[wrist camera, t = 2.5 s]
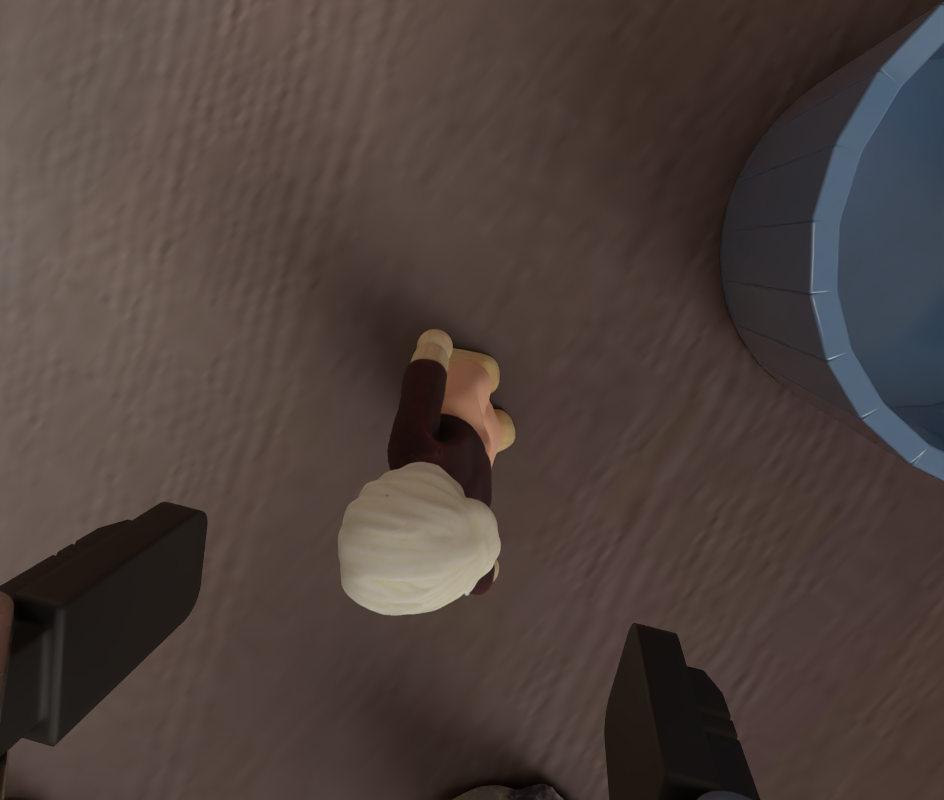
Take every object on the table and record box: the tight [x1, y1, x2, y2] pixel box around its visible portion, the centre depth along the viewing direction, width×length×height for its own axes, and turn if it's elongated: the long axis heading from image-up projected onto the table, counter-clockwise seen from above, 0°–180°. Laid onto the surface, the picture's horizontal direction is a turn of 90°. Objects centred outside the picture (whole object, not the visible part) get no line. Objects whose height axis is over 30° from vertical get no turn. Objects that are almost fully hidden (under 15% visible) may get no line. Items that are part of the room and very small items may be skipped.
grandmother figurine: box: [338, 329, 515, 615], centre depth 19 cm, size 8×4×13 cm, turn 24°
